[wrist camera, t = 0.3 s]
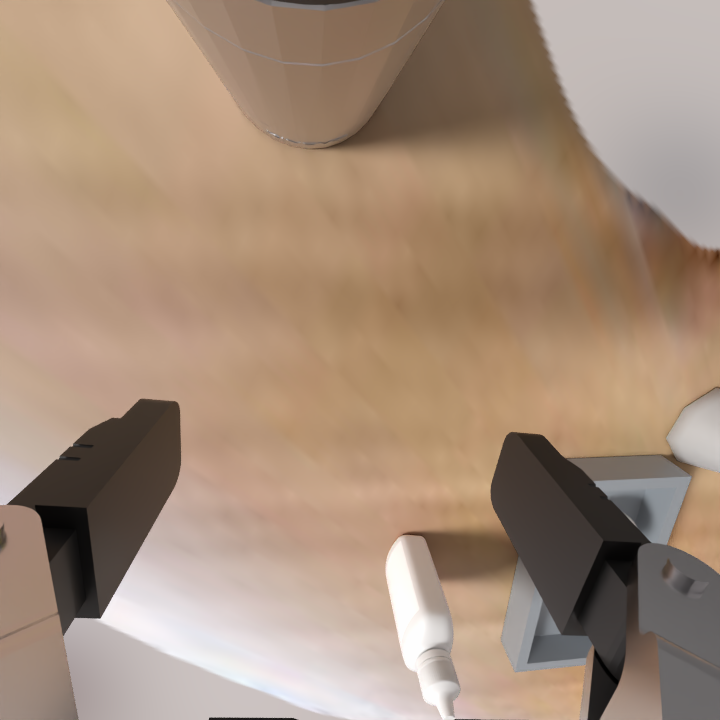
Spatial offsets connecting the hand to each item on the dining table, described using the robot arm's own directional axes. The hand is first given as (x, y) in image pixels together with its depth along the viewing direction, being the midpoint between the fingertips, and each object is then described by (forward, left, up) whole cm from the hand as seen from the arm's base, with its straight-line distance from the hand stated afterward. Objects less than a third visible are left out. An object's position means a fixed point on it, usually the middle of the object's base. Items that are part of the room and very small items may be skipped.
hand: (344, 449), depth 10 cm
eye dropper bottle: (+23, +7, -18) cm, 30 cm away
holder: (+24, +23, -18) cm, 37 cm away
